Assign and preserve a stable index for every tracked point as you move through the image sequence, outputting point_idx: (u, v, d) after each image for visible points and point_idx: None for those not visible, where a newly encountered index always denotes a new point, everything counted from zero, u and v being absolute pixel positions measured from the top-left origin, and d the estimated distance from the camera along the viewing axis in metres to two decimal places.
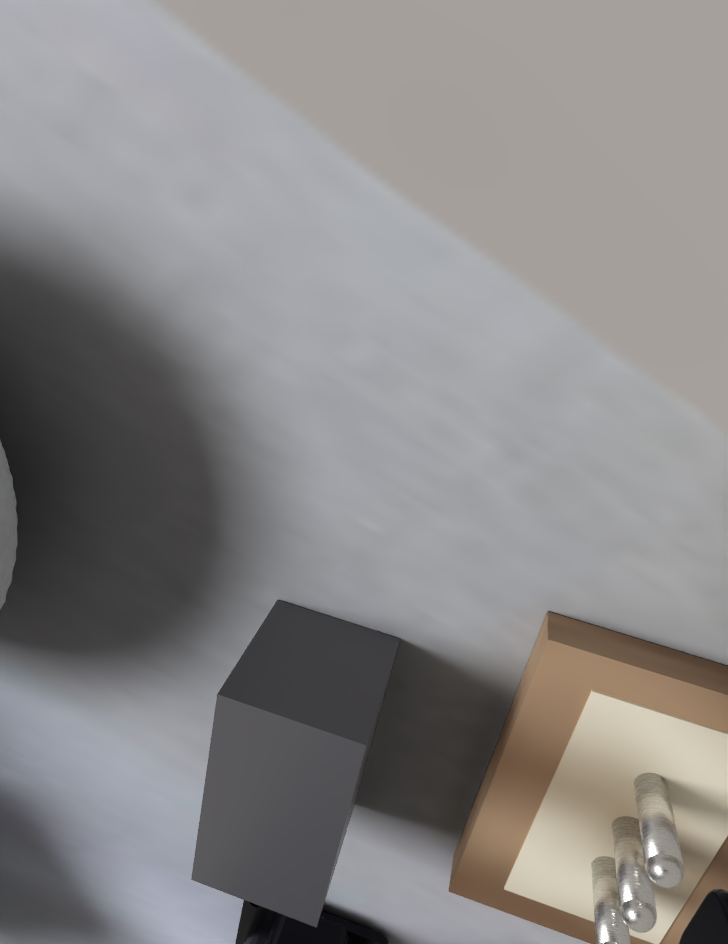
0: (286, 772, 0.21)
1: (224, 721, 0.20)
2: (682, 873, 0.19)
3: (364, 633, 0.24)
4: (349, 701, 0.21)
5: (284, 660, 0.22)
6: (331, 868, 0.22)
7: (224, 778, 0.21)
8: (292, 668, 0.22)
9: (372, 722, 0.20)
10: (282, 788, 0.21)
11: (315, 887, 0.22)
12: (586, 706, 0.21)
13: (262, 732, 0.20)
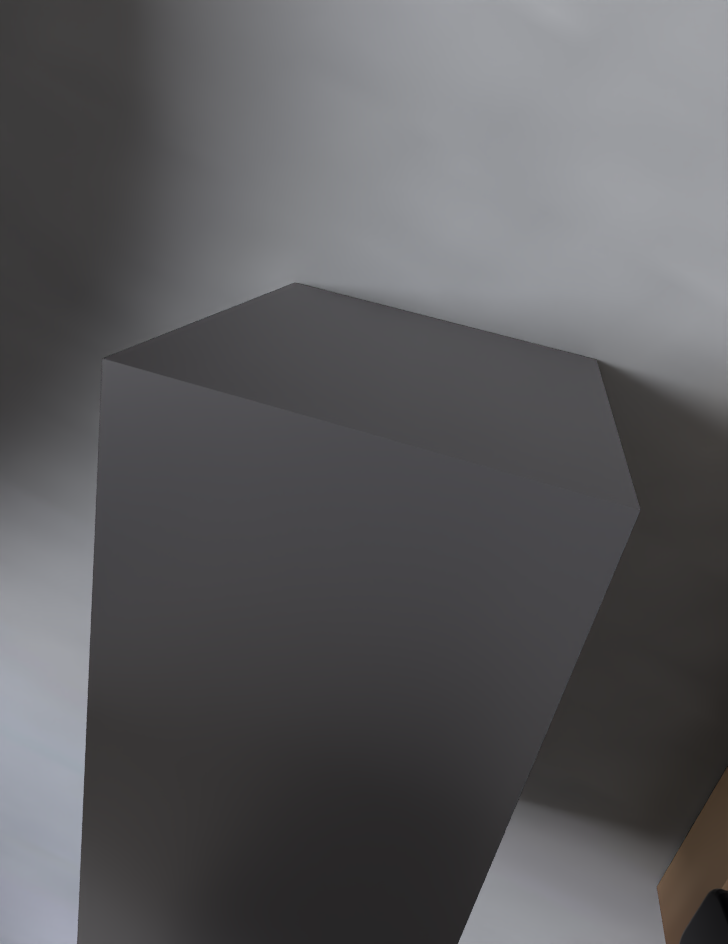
0: (333, 640, 0.06)
1: (131, 466, 0.06)
2: None
3: (510, 342, 0.10)
4: (530, 421, 0.07)
5: (320, 342, 0.08)
6: (455, 939, 0.07)
7: (142, 672, 0.07)
8: (343, 354, 0.07)
9: (623, 465, 0.06)
10: (318, 696, 0.07)
11: None
12: None
13: (256, 496, 0.06)
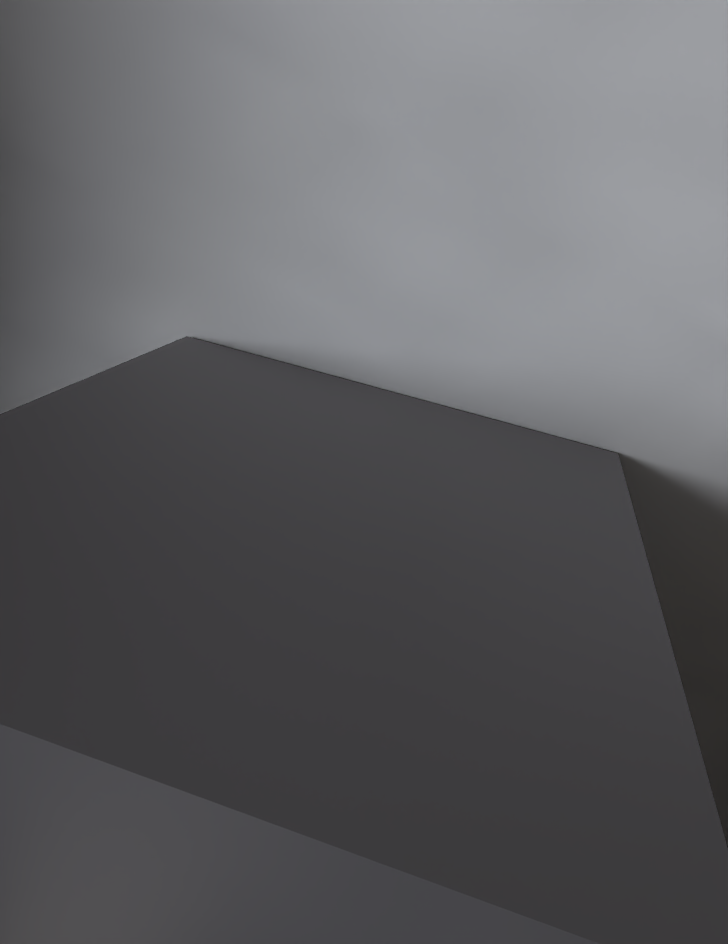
0: None
1: None
2: None
3: (492, 429, 0.07)
4: (514, 649, 0.04)
5: (166, 466, 0.05)
6: None
7: None
8: (196, 494, 0.04)
9: (701, 781, 0.03)
10: None
11: None
12: None
13: None
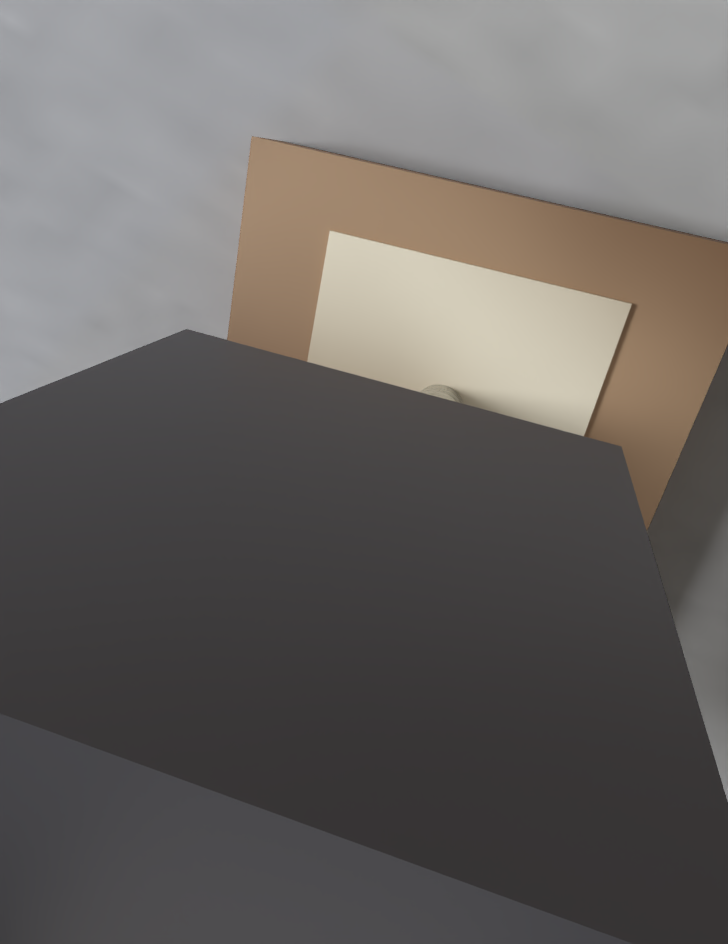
0: None
1: None
2: None
3: (494, 422, 0.06)
4: (518, 640, 0.03)
5: (165, 457, 0.05)
6: None
7: None
8: (197, 485, 0.04)
9: (710, 772, 0.03)
10: None
11: None
12: (325, 264, 0.13)
13: None
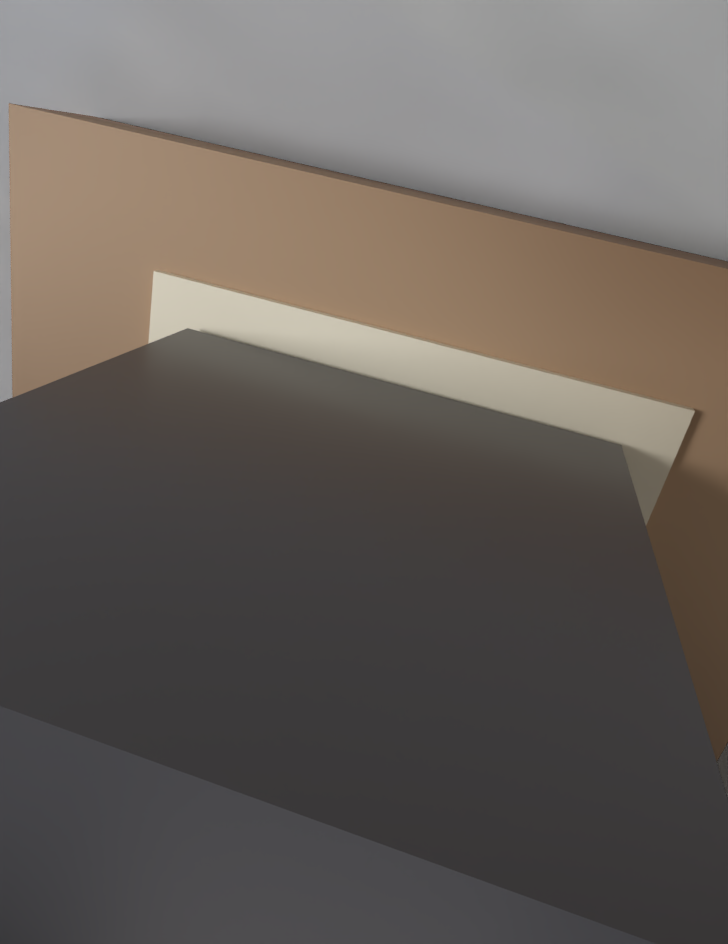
0: None
1: None
2: None
3: (494, 420, 0.07)
4: (519, 636, 0.04)
5: (167, 455, 0.05)
6: None
7: None
8: (198, 481, 0.04)
9: (710, 767, 0.03)
10: None
11: None
12: (151, 328, 0.07)
13: None
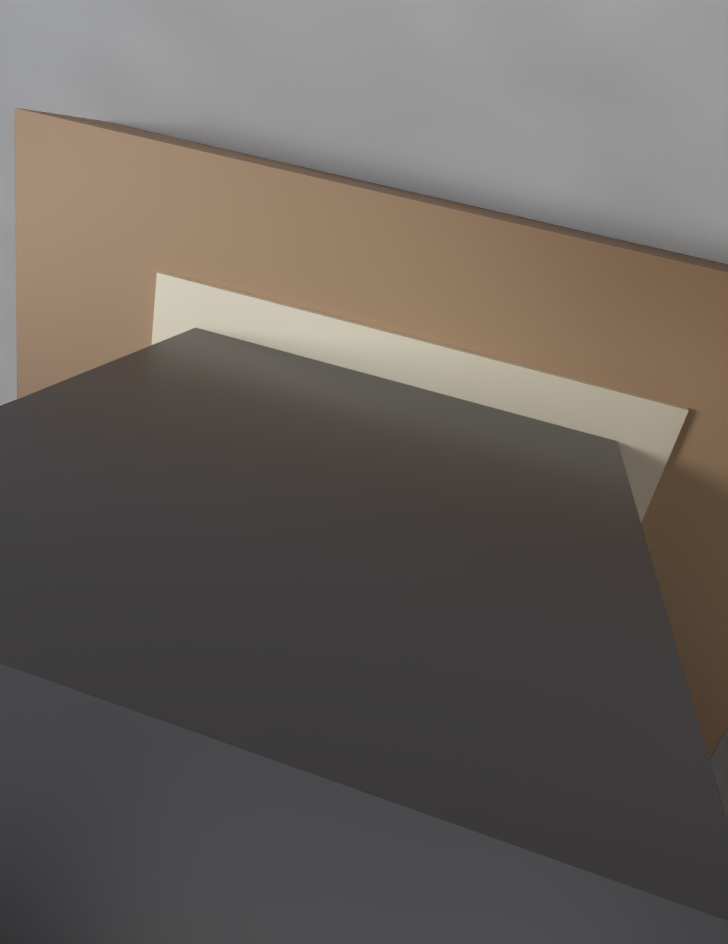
0: None
1: None
2: None
3: (494, 417, 0.07)
4: (516, 618, 0.04)
5: (180, 448, 0.05)
6: None
7: None
8: (210, 473, 0.04)
9: (694, 737, 0.03)
10: None
11: None
12: (154, 329, 0.08)
13: None
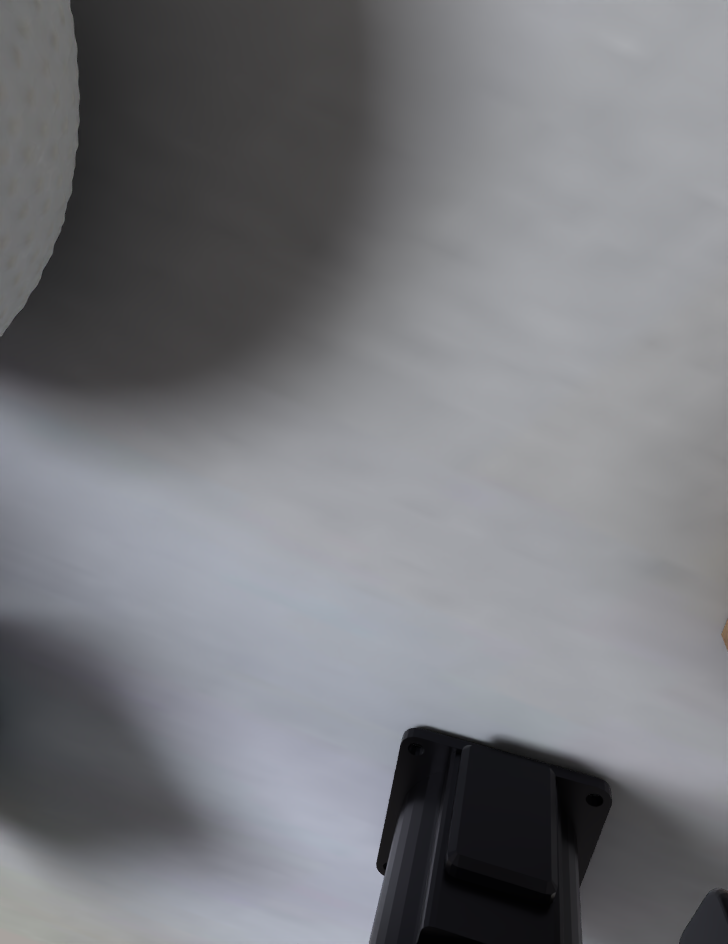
0: None
1: None
2: None
3: None
4: None
5: None
6: None
7: None
8: None
9: None
10: None
11: None
12: None
13: None
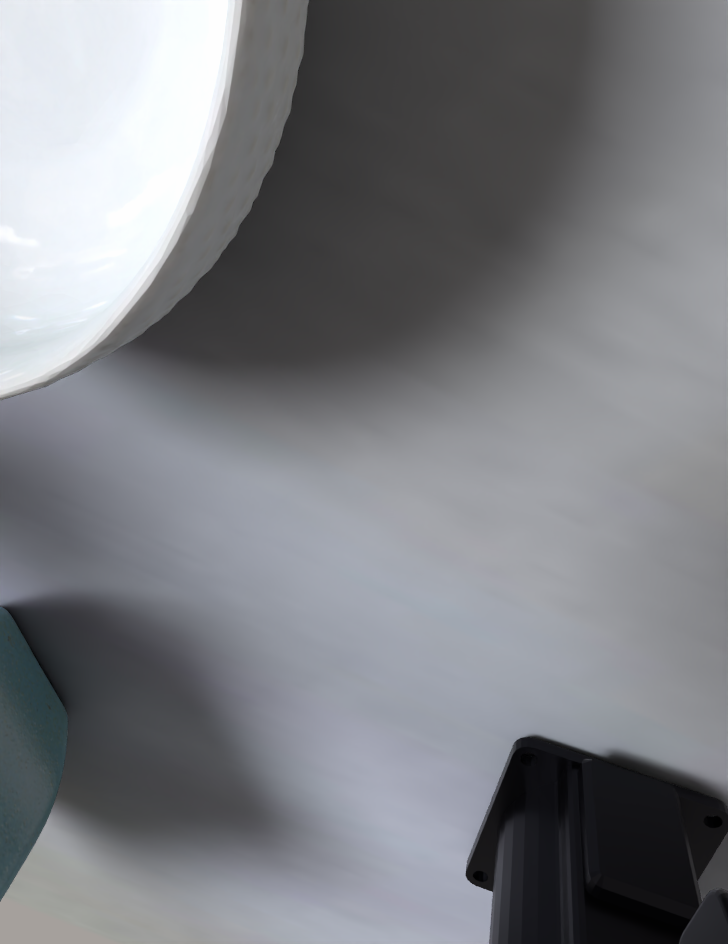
0: None
1: None
2: None
3: None
4: None
5: None
6: None
7: None
8: None
9: None
10: None
11: None
12: None
13: None
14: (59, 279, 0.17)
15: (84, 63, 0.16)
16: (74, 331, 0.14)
